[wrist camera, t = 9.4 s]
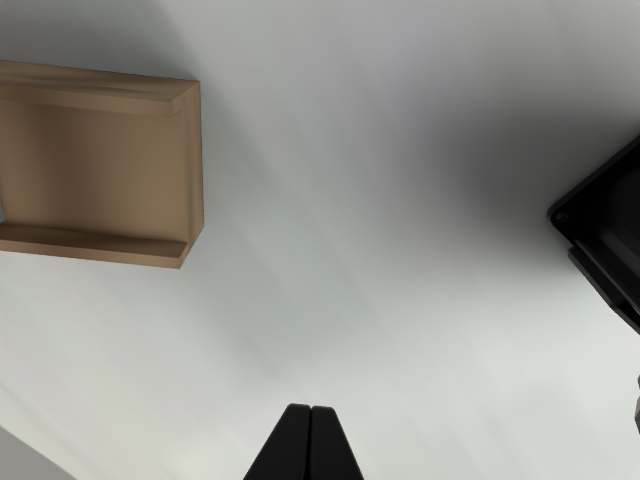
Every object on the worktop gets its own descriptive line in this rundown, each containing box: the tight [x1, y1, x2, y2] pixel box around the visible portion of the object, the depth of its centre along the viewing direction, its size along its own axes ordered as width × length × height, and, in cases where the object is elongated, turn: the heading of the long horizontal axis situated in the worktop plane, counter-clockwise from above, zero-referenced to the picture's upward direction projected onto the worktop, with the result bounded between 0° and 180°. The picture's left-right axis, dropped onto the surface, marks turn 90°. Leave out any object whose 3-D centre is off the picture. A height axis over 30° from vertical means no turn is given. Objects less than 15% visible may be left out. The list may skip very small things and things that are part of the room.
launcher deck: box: [0, 60, 204, 269], centre depth 18 cm, size 8×6×4 cm
